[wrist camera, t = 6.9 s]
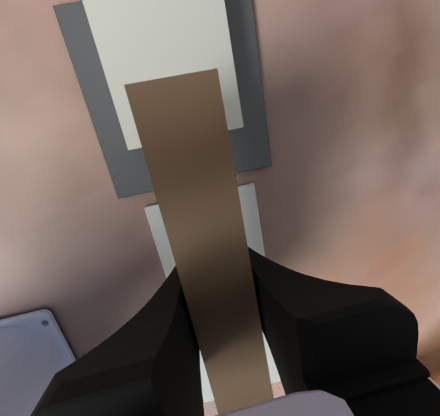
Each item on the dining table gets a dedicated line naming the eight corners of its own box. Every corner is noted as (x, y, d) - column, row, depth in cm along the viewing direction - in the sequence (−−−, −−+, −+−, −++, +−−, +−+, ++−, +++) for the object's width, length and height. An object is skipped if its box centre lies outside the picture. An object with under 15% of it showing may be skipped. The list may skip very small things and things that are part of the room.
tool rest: (282, 376, 22) (283, 380, 22) (204, 398, 22) (204, 402, 21) (252, 182, 16) (254, 183, 16) (145, 206, 16) (144, 207, 15)
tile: (243, 126, 13) (218, -40, 11) (128, 150, 13) (76, -19, 11) (238, 128, 15) (214, -18, 13) (134, 149, 14) (90, 1, 12)
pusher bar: (253, 353, 15) (282, 449, 10) (219, 362, 15) (232, 464, 10) (204, 102, 10) (217, 68, 6) (154, 112, 10) (124, 84, 6)
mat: (270, 165, 16) (271, 165, 16) (119, 197, 15) (118, 198, 15) (247, -21, 13) (248, -25, 13) (55, 8, 12) (52, 5, 12)
